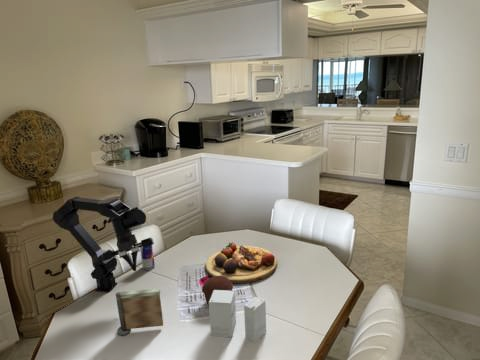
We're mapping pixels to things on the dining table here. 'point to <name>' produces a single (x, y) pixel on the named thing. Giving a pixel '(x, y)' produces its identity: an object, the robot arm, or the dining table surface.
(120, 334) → the gate pivot base
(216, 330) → the supplement box
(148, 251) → the energy drink
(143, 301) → the gate panel
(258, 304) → the skincare box
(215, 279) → the muffin
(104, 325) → the dining table surface
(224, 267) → the wooden plate with food
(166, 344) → the dining table surface
